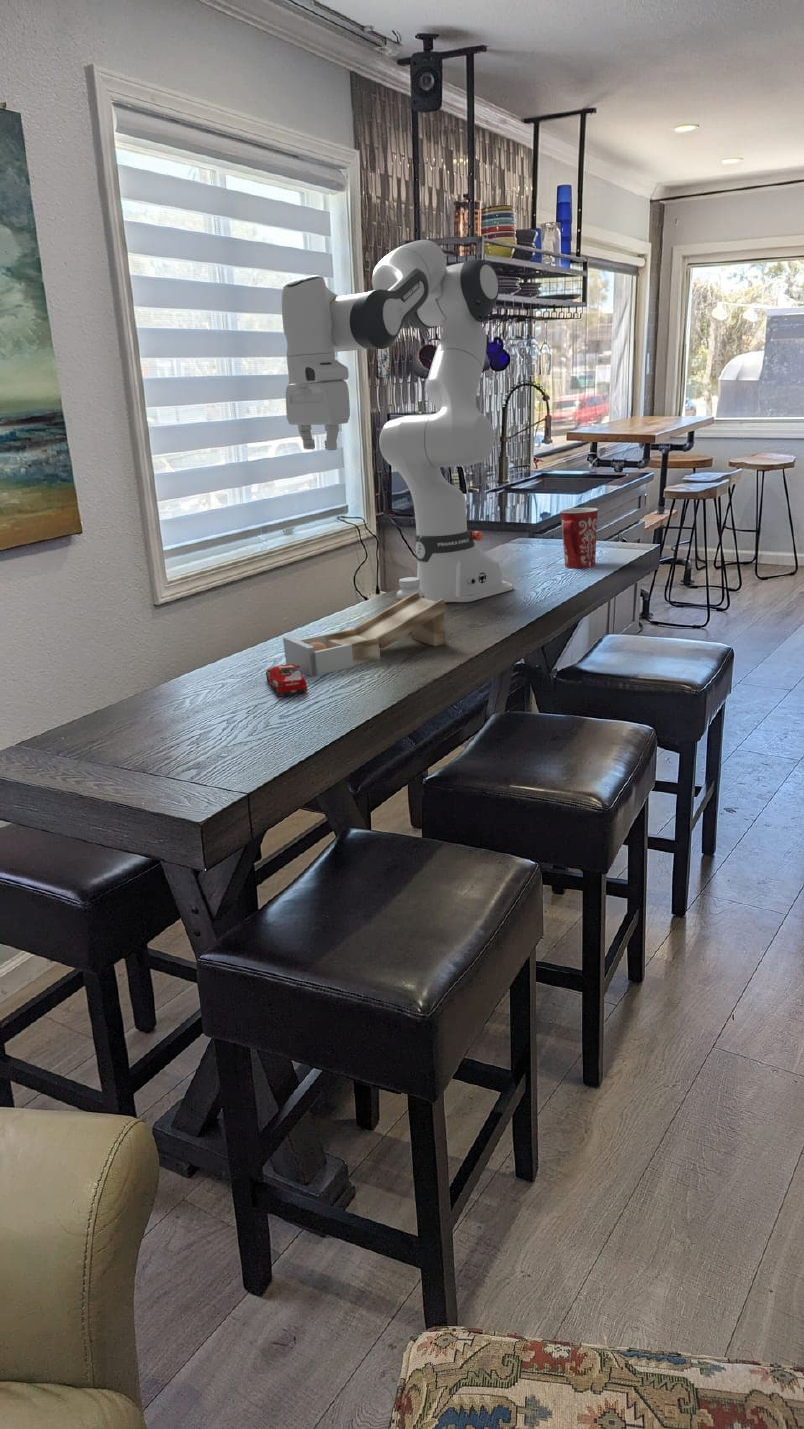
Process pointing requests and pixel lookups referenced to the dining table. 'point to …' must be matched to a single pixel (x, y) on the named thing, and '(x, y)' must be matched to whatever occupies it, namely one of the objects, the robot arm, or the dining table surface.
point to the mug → (579, 536)
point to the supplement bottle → (409, 588)
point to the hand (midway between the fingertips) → (320, 449)
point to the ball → (318, 646)
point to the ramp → (394, 628)
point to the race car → (286, 680)
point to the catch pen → (317, 655)
